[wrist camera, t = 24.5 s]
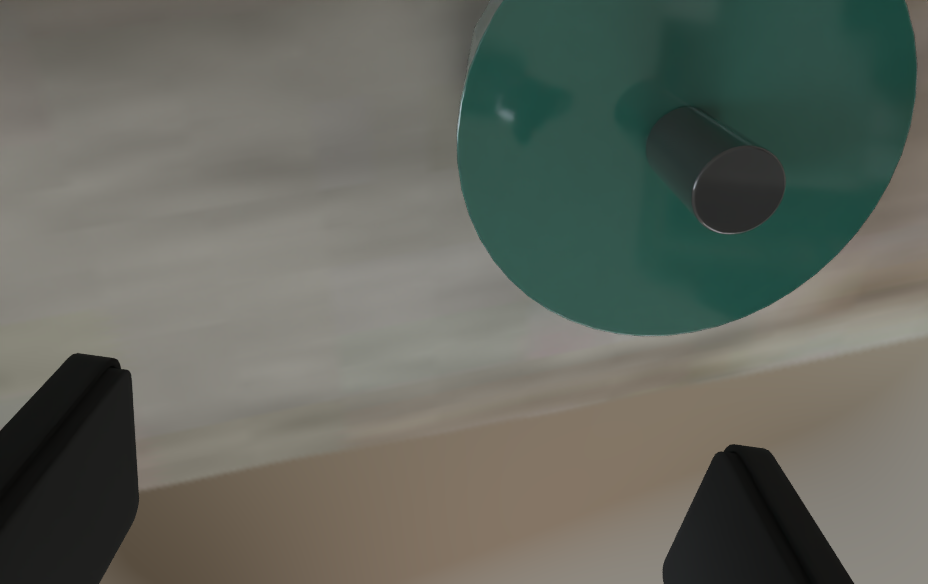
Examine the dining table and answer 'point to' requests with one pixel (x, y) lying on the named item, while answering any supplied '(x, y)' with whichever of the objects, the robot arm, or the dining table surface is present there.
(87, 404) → the robot arm
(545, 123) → the pot lid
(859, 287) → the dining table surface
